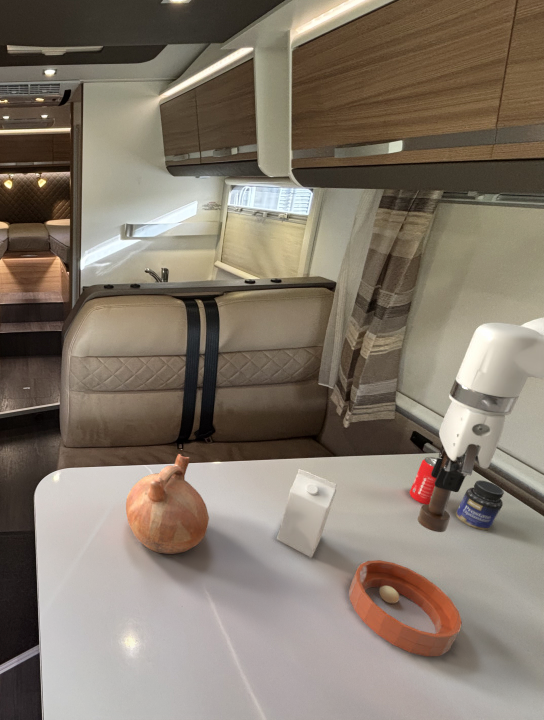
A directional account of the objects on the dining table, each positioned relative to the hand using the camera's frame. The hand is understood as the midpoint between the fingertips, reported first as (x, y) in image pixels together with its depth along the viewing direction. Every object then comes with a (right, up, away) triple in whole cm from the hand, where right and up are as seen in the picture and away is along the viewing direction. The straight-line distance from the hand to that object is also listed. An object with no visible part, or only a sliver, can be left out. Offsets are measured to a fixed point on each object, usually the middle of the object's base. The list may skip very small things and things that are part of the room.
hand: (444, 483), depth 78 cm
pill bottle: (+31, -19, +25) cm, 44 cm away
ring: (-5, -27, +4) cm, 28 cm away
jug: (-45, -21, +23) cm, 54 cm away
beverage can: (+25, -16, +32) cm, 44 cm away
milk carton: (-14, -21, +21) cm, 33 cm away
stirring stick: (+1, -9, +3) cm, 10 cm away
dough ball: (-5, -24, +6) cm, 26 cm away
